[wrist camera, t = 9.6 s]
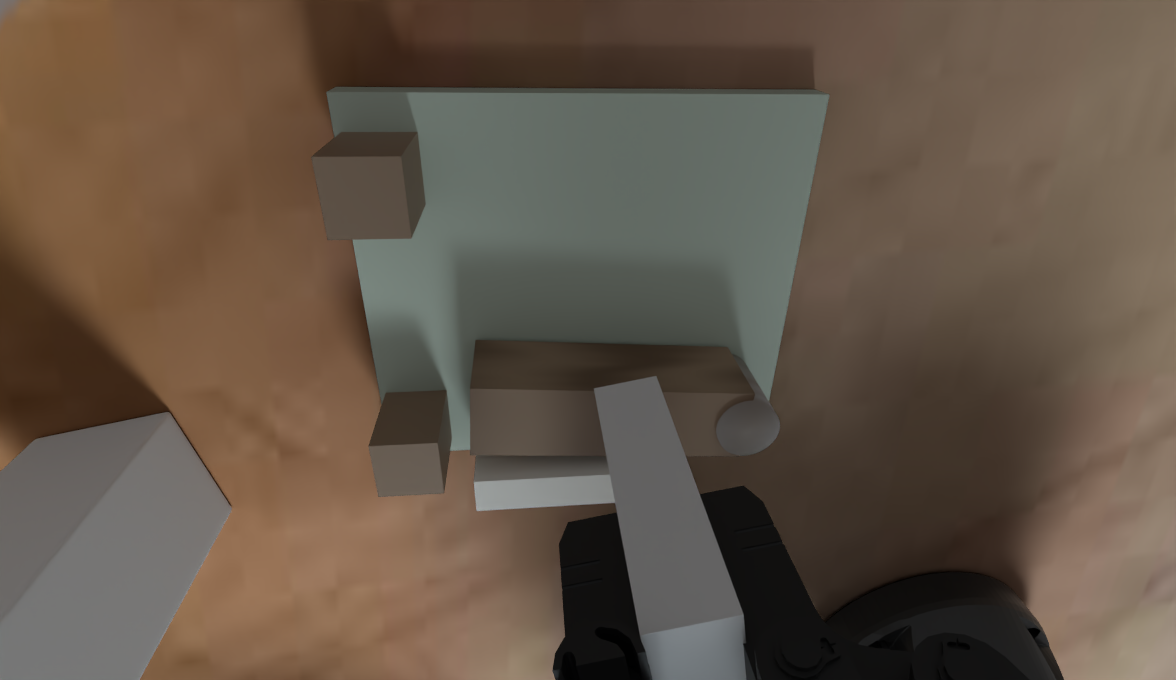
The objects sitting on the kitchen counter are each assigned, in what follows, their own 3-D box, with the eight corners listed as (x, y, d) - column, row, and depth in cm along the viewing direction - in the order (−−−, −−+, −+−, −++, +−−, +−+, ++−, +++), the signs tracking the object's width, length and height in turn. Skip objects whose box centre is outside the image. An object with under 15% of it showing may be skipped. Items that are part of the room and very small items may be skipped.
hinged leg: (754, 347, 26) (788, 399, 23) (740, 405, 28) (769, 461, 25) (475, 339, 25) (469, 393, 22) (475, 401, 26) (469, 460, 23)
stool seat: (815, 89, 23) (888, 114, 18) (753, 419, 30) (795, 495, 26) (335, 86, 21) (286, 113, 17) (395, 436, 29) (372, 520, 24)
